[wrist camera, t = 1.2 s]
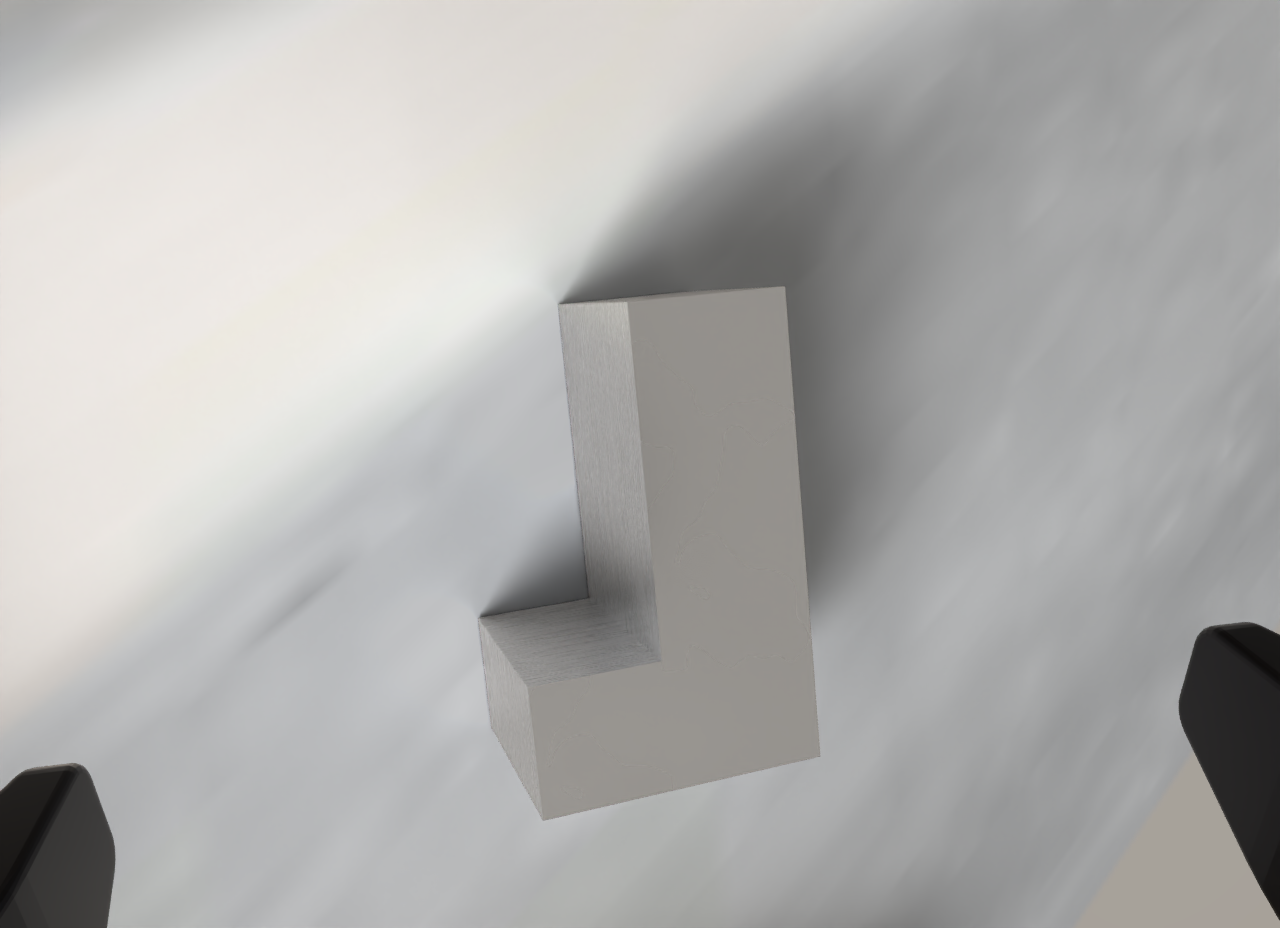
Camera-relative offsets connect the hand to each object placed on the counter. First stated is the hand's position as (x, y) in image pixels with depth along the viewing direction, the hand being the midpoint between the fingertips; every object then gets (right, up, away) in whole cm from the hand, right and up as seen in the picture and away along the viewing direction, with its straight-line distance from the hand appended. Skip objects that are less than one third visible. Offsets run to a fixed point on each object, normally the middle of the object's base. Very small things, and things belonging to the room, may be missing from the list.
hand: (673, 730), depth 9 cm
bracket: (-1, +1, +16) cm, 16 cm away
